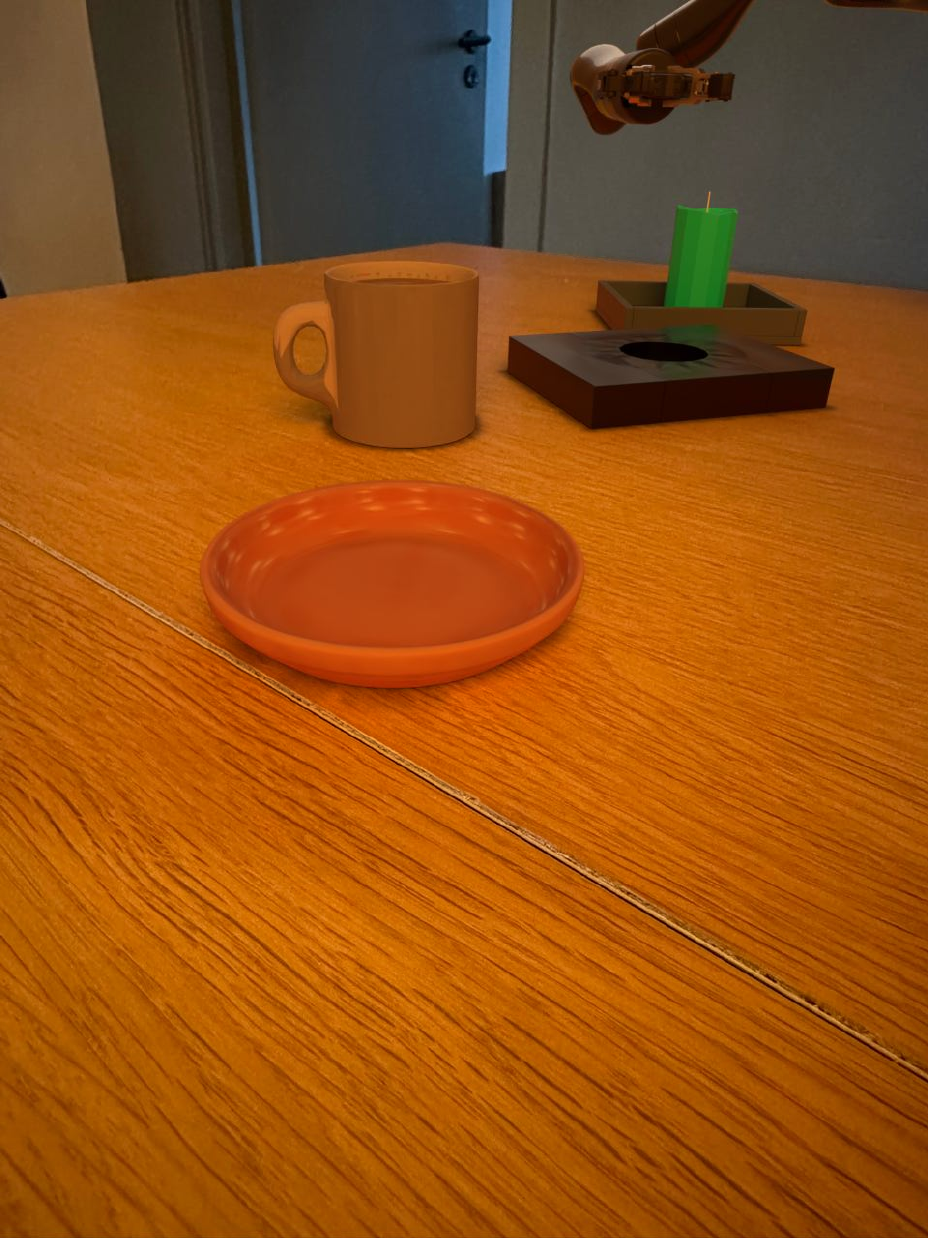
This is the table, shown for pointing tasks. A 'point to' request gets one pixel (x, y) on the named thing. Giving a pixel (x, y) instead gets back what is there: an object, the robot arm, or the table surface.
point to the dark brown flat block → (665, 374)
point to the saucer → (392, 581)
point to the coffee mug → (391, 351)
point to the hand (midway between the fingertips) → (686, 84)
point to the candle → (700, 256)
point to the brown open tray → (702, 310)
